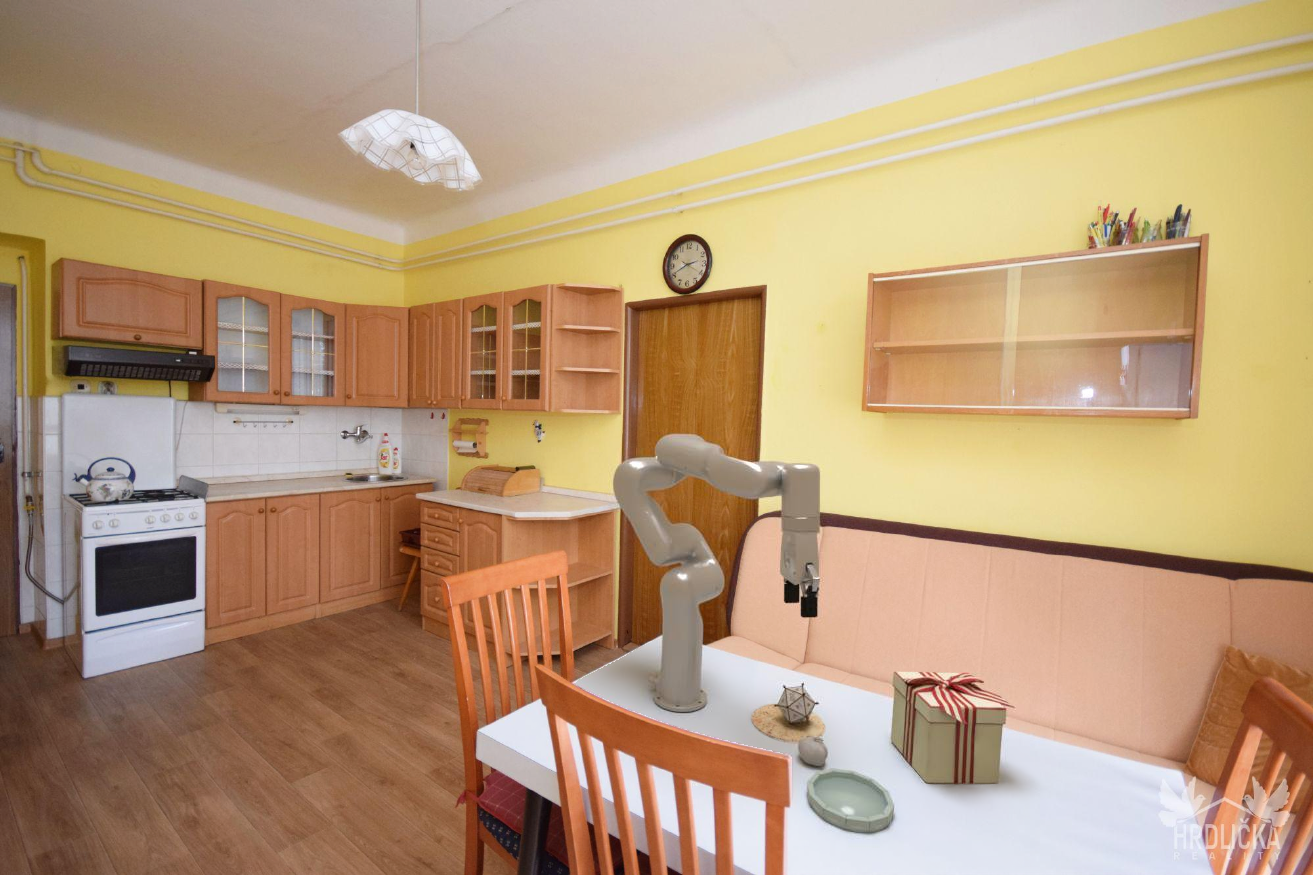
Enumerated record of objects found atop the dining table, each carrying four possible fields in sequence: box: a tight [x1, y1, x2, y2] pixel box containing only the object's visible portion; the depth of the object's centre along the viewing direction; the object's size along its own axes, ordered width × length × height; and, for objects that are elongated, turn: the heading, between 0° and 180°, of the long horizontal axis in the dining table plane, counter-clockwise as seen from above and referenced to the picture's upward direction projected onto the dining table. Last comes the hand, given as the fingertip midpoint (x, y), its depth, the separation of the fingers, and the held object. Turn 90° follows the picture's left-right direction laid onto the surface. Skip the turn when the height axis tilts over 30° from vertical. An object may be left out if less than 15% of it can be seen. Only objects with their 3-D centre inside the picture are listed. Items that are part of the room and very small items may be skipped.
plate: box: [806, 767, 895, 834], centre depth 100 cm, size 14×14×2 cm
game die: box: [773, 682, 820, 726], centre depth 128 cm, size 9×8×10 cm
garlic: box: [797, 736, 829, 767], centre depth 113 cm, size 6×5×5 cm
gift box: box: [890, 671, 1016, 785], centre depth 113 cm, size 17×18×17 cm
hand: (799, 609), depth 116 cm, fingers open, 9 cm apart
